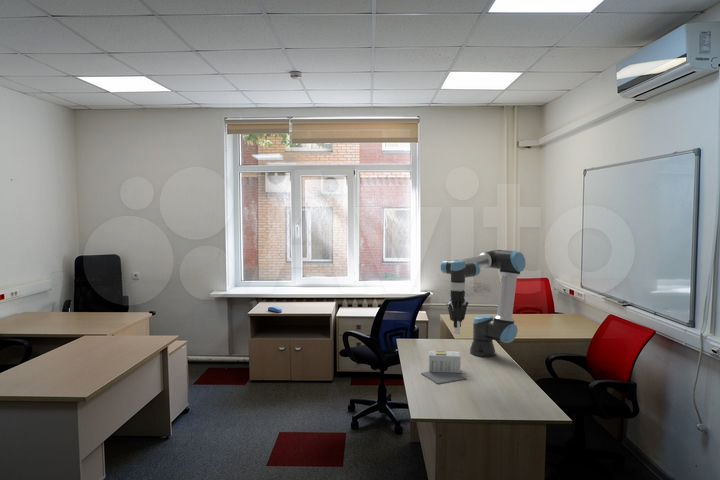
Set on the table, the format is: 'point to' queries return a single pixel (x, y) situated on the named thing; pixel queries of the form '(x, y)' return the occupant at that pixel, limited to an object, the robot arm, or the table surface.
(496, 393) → the table surface
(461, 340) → the table surface
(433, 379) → the graphite mat
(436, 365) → the supplement box
